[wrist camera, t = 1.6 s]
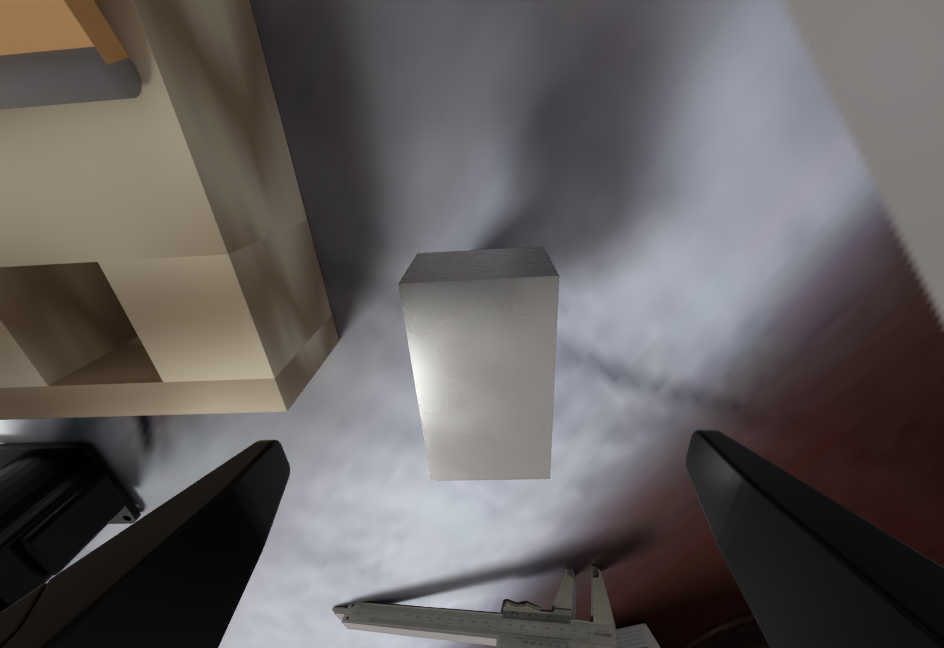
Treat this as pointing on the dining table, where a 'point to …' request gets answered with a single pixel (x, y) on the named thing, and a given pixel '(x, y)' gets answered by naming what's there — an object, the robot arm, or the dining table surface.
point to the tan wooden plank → (61, 55)
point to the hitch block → (159, 234)
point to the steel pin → (484, 360)
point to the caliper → (497, 620)
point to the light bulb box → (635, 637)
